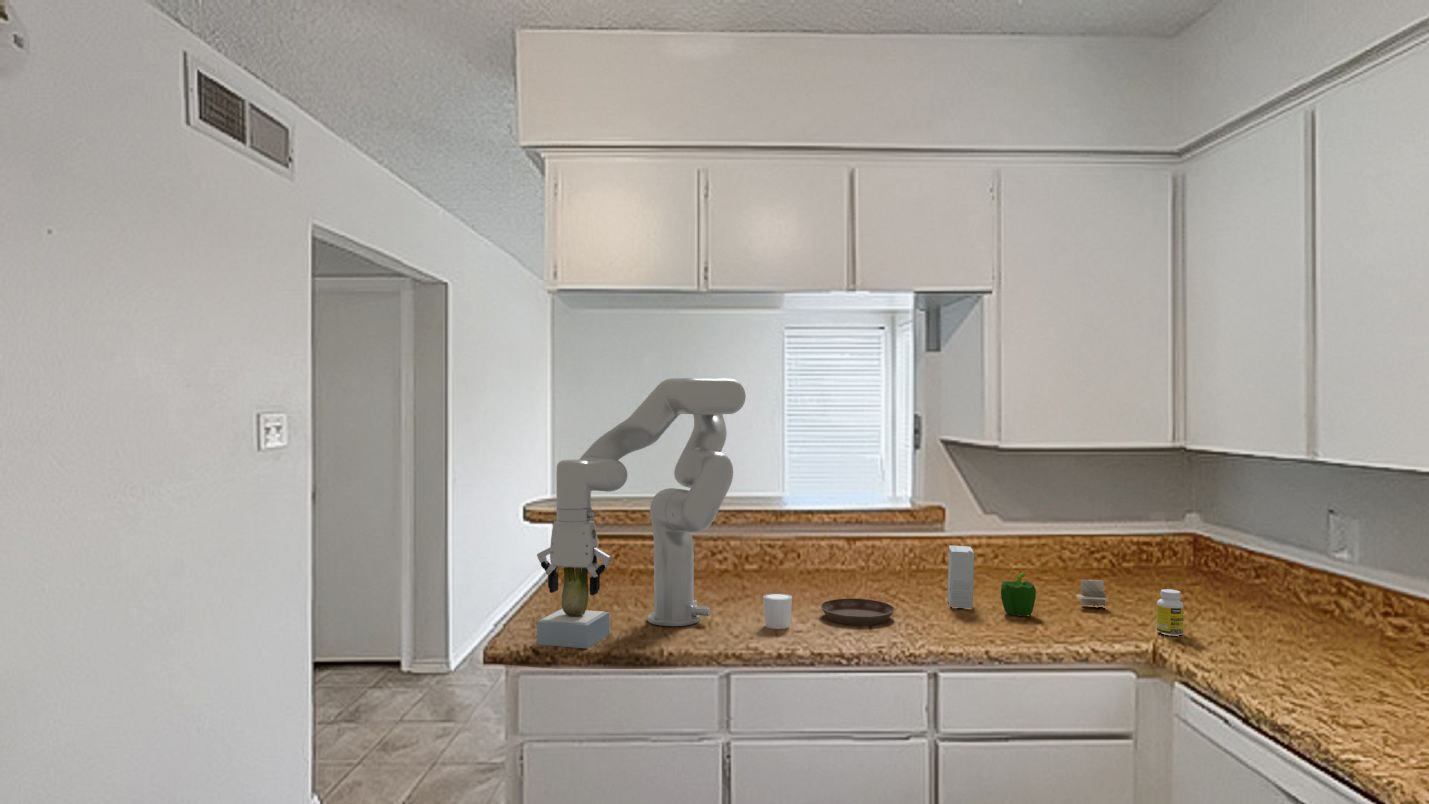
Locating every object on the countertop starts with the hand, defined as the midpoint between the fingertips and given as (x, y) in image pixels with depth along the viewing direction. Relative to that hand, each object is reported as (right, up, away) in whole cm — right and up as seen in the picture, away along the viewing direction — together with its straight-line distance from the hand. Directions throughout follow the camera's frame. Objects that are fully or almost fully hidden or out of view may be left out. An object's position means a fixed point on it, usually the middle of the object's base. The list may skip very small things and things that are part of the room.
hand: (573, 592), depth 202 cm
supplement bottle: (+134, -11, +5) cm, 135 cm away
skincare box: (+94, -10, +33) cm, 100 cm away
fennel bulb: (0, -5, 0) cm, 5 cm away
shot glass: (+46, -11, +12) cm, 49 cm away
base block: (0, -10, 0) cm, 10 cm away
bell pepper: (+106, -10, +23) cm, 109 cm away
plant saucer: (+66, -11, +20) cm, 70 cm away
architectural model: (+127, -11, +30) cm, 131 cm away
